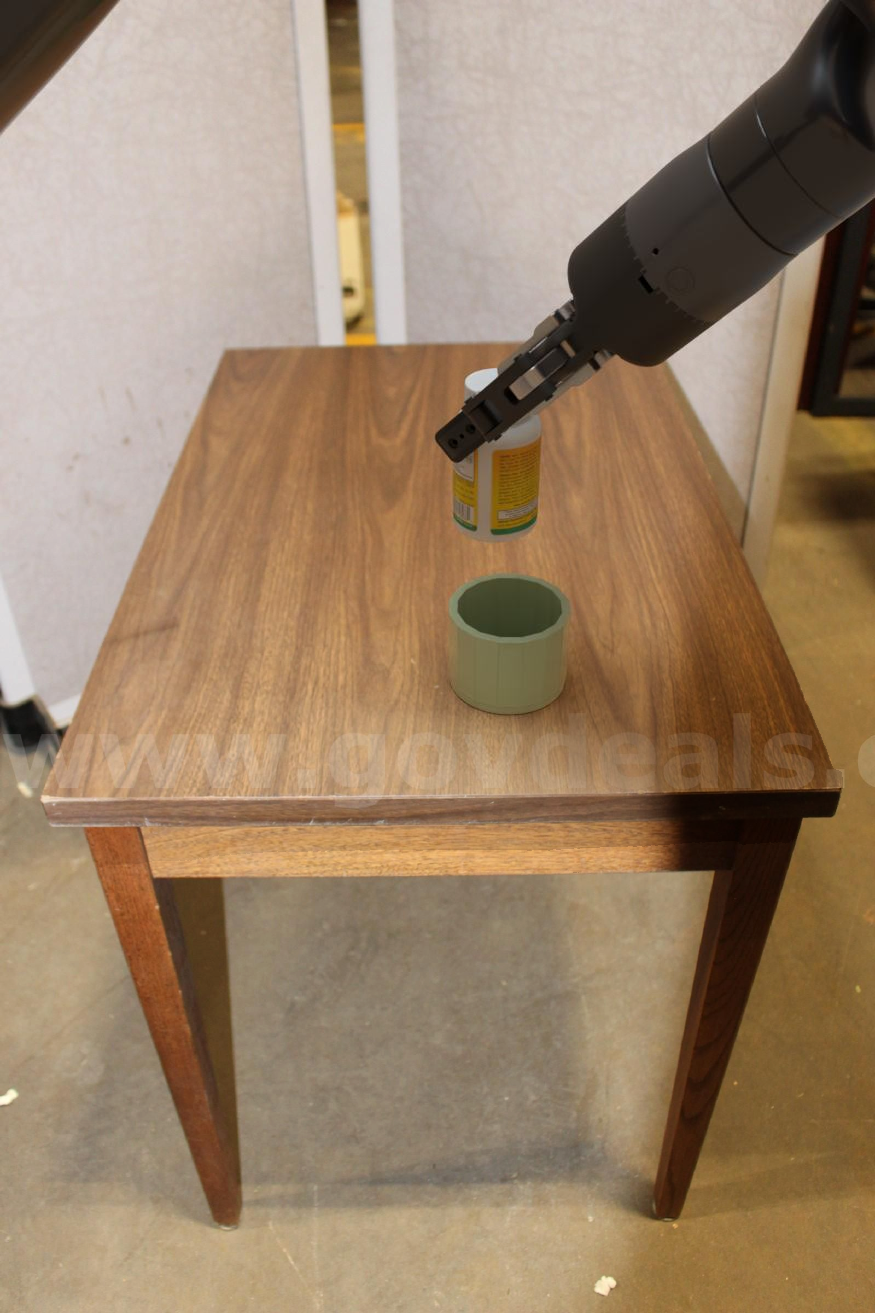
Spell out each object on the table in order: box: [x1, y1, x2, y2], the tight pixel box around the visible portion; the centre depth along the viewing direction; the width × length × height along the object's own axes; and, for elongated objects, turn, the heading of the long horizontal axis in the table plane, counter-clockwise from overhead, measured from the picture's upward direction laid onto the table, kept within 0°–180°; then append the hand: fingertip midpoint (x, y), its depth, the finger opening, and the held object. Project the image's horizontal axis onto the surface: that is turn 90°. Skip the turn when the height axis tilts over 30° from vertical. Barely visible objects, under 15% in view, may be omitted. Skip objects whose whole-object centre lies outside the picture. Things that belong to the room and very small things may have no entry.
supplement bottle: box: [452, 367, 543, 544], centre depth 65 cm, size 5×5×10 cm
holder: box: [448, 572, 572, 716], centre depth 72 cm, size 8×8×6 cm
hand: (470, 428), depth 65 cm, fingers closed on supplement bottle, 5 cm apart
